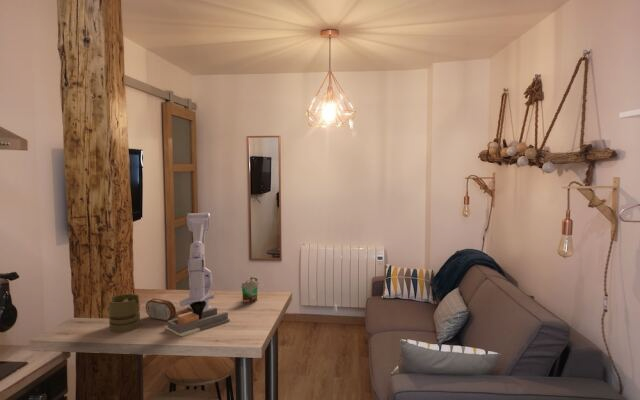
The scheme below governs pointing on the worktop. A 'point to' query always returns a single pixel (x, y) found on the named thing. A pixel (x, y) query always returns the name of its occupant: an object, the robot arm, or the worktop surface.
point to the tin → (160, 309)
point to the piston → (124, 313)
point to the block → (187, 318)
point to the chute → (198, 322)
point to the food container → (250, 290)
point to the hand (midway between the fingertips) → (198, 319)
